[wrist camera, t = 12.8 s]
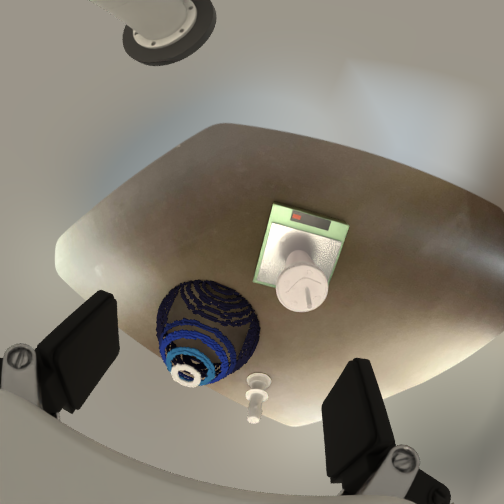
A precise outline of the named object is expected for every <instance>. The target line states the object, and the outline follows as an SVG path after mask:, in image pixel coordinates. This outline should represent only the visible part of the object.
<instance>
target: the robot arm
mask: <svg viewBox="0 0 504 504" xmlns="http://www.w3.org/2000/svg"><path fill="white" fill-rule="evenodd" d="M89 1H91V2H93V3H95V4H96V5H98V6H99V7H101V8H103V9H104V10H106V11H107V12H109V13H110V14H112V15H113V16H115V17H116V18H118V19H119V20H121V21H122V22H124V23H125V24H126V25H128V26H129V27H130V28H132V29H133V37H134V39H135V41H136V42H137V43H138V44H140V45H141V46H143V47H145V48H149V49H158V48H163V47H166V46H169V45H171V44H174V43H175V42H177V41H179V40H180V39H181V38H183V37H184V36H185V35H186V34H187V33H188V32H189V31H190V30H191V29H192V27H193V26H194V24H195V22H196V19H197V9H196V7H195V5H194V3H193V2H192V1H191V0H89ZM119 350H120V346H119V335H118V318H117V301H116V299H114V296H113V294H111V293H108V292H105V291H103V290H99V291H97V292H96V293H95V294H94V295H93V296H91V297H90V298H89V299H88V300H87V301H86V302H84V304H82V305H81V306H80V307H79V308H78V309H76V310H75V311H74V312H73V313H72V314H71V315H70V316H69V317H68V318H66V319H65V320H64V321H63V322H62V323H61V324H60V325H59V326H57V327H56V328H55V329H54V330H53V331H52V332H51V333H50V334H49V335H48V336H47V337H46V338H45V339H44V340H43V341H42V342H41V343H39V344H38V345H37V348H36V349H35V350H34V349H33V348H32V347H31V346H29V345H27V344H21V343H20V344H15V345H12V346H11V347H9V348H8V349H7V350H6V352H5V353H4V357H3V358H0V504H450V500H451V495H450V491H449V489H448V488H447V487H446V486H445V485H444V484H442V483H440V482H439V481H437V480H436V479H434V478H433V477H431V476H429V475H428V474H426V473H425V472H423V471H422V470H420V469H419V466H420V458H419V456H418V454H417V452H416V451H415V450H414V449H413V448H411V447H409V446H407V445H397V446H396V444H395V440H394V436H393V432H392V429H391V425H390V422H389V419H388V415H387V412H386V409H385V405H384V402H383V399H382V396H381V393H380V390H379V386H378V383H377V380H376V377H375V375H374V372H373V369H372V366H371V363H370V361H369V360H368V359H361V358H354V359H353V361H349V362H348V364H347V365H346V367H345V369H344V370H343V372H342V374H341V375H340V377H339V378H338V380H337V382H336V383H335V385H334V386H333V388H332V390H331V391H330V393H329V394H328V396H327V397H326V399H325V400H324V402H323V404H322V420H323V431H324V442H325V455H326V471H327V476H328V477H330V479H331V483H342V488H343V489H342V490H341V491H340V493H339V494H338V495H337V496H301V495H284V494H273V493H263V492H255V491H248V490H242V489H236V488H231V487H225V486H220V485H216V484H211V483H207V482H202V481H198V480H195V479H191V478H188V477H184V476H181V475H177V474H174V473H171V472H168V471H165V470H162V469H159V468H156V467H153V466H151V465H148V464H145V463H143V462H140V461H138V460H135V459H133V458H130V457H128V456H126V455H123V454H121V453H119V452H117V451H114V450H112V449H110V448H108V447H106V446H104V445H102V444H100V443H98V442H96V441H94V440H92V439H90V438H88V437H87V436H85V435H83V434H81V433H79V432H78V431H76V430H74V429H72V428H71V427H69V426H67V425H66V424H64V423H62V422H61V421H60V416H59V412H60V411H61V409H62V408H63V409H64V410H66V411H68V412H69V413H71V414H73V412H74V411H75V409H77V410H79V409H80V408H81V406H82V405H83V404H84V402H85V401H86V399H87V398H88V396H89V395H90V393H91V392H92V391H93V389H94V388H95V386H96V385H97V384H98V382H99V381H100V379H101V378H102V376H103V375H104V373H105V372H106V371H107V369H108V368H109V367H110V365H111V364H112V363H113V361H114V360H115V359H116V357H117V356H118V354H119ZM452 504H454V503H452Z"/></svg>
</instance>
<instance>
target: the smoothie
mask: <svg viewBox="0 0 504 504" xmlns="http://www.w3.org/2000/svg"><path fill="white" fill-rule="evenodd" d="M276 293H277V297H278V299H279V301H280V302H281V304H282V305H283V306H285V307H286V308H288V309H290V310H292V311H295V312H307V311H311V310H313V309H315V308H317V307H318V306H319V305H321V304H322V302H323V301H324V300H325V298H326V296H327V293H328V283H327V278H326V276H325V274H324V272H323V271H322V270H321V269H320V268H319V267H317V266H316V265H315V263H314V262H313V261H312V259H311V258H310V256H309V255H308V254H307V253H306V252H305V251H302V250H296V251H293V252H291V253H290V254H289V256H288V257H287V260H286V263H285V266H284V269H283V271H282V272H281V273H280V275H279V276H278V279H277V282H276Z"/></svg>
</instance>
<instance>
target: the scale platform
mask: <svg viewBox="0 0 504 504" xmlns="http://www.w3.org/2000/svg"><path fill="white" fill-rule="evenodd" d="M341 244H342V241H340V240H337V239H334V238H330V237H327V236H323V235H320V234H316V233H312V232H309V231H305V230H302V229H298V228H294V227H291V226H287V225H283V224H280V223H276V222H272V224H271V227H270V231H269V235H268V239H267V242H266V246H265V250H264V254H263V257H262V261H261V265H260V268H259V272H258V276H257V281H261V282H265V283H269V284H272V285H276V282H277V279H278V276H279V275H280V273H281V272H282V271H283V269H284V266H285V263H286V260H287V257H288V256H289V254H290V253H291V252H293V251H296V250H302V251H305V252H306V253H307V254H308V255H309V256H310V258H311V259H312V261H313V262H314V263H315V265H316V266H317V267H319V268H320V269H321V270H322V271H323V272H324V274H325V276H326V278H327V283H328V280H329V278H330V275H331V272H332V270H333V267H334V264H335V261H336V258H337V255H338V253H339V250H340V247H341Z"/></svg>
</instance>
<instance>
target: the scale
mask: <svg viewBox="0 0 504 504" xmlns="http://www.w3.org/2000/svg"><path fill="white" fill-rule="evenodd" d="M272 222H276V223H280V224H283V225H287V226H291V227H294V228H298V229H302V230H305V231H309V232H312V233H316V234H320V235H323V236H327V237H330V238H334V239H337V240H340V241H342V244H341V247H340V250H339V253H338V255H337V258H336V261H335V264H334V267H333V270H332V272H331V275H330V278H329V280H328V285H329V282H330V280H331V277H332V274H333V272H334V269H335V266H336V263H337V261H338V258H339V255H340V252H341V249H342V246H343V243H344V240H345V237H346V234H347V231H348V228H349V225H348V224H347V223H346V222H345V221H342V220H339V219H336V218H332V217H329V216H325V215H322V214H319V213H315V212H312V211H308V210H305V209H301V208H297V207H294V206H290V205H286V204H283V203H279V202H275V201H274V202H273V206H272V210H271V214H270V218H269V222H268V225H267V229H266V233H265V237H264V241H263V245H262V248H261V252H260V256H259V260H258V263H257V267H256V271H255V275H254V279H253V282H255V283H259V284H262V285H266V286H270V287H274V288H276V285H272V284H269V283H265V282H261V281H257V276H258V272H259V268H260V265H261V261H262V257H263V254H264V250H265V246H266V242H267V239H268V235H269V231H270V227H271V224H272Z"/></svg>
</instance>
